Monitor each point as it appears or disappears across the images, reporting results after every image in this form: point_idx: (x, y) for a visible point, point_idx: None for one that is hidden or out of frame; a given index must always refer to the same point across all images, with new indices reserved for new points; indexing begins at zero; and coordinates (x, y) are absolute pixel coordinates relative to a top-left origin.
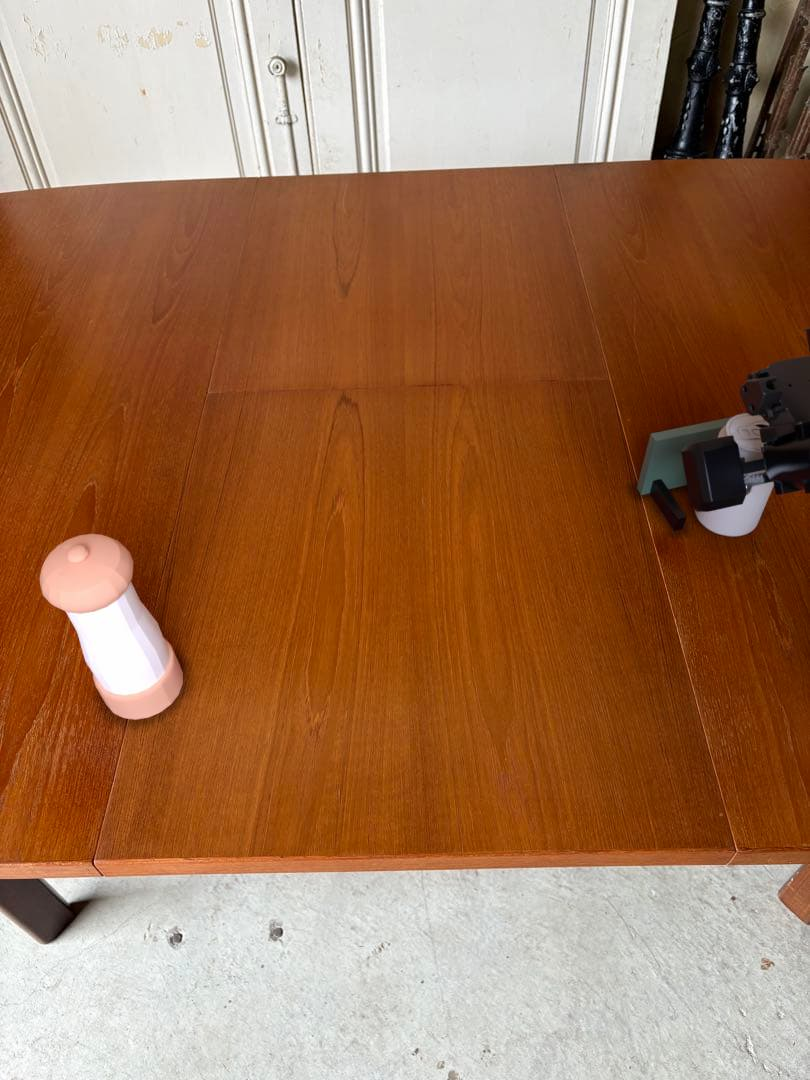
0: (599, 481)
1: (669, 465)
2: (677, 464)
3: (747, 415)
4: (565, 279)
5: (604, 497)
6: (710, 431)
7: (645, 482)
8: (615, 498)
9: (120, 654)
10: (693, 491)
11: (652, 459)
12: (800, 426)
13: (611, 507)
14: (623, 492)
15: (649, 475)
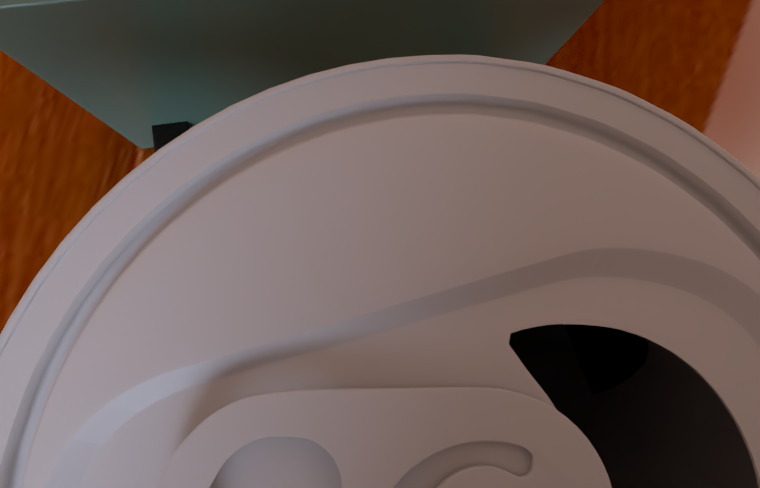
0: (13, 59)
1: (185, 94)
2: (228, 90)
3: (476, 98)
4: None
5: (5, 139)
6: None
7: (117, 130)
8: (44, 150)
9: None
10: None
11: (53, 80)
12: None
13: (14, 190)
14: (83, 125)
15: (111, 117)
